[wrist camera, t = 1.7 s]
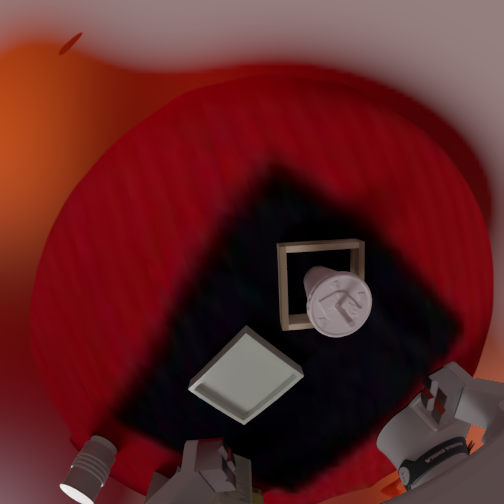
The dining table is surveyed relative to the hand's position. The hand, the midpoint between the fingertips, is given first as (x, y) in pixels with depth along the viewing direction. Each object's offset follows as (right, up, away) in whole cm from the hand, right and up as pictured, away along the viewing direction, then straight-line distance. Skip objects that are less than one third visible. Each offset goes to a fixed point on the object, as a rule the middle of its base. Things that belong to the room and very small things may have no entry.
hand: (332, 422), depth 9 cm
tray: (-4, -10, +28) cm, 30 cm away
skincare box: (-7, -30, +31) cm, 44 cm away
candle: (-33, -32, +31) cm, 55 cm away
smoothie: (+5, +3, +26) cm, 26 cm away
